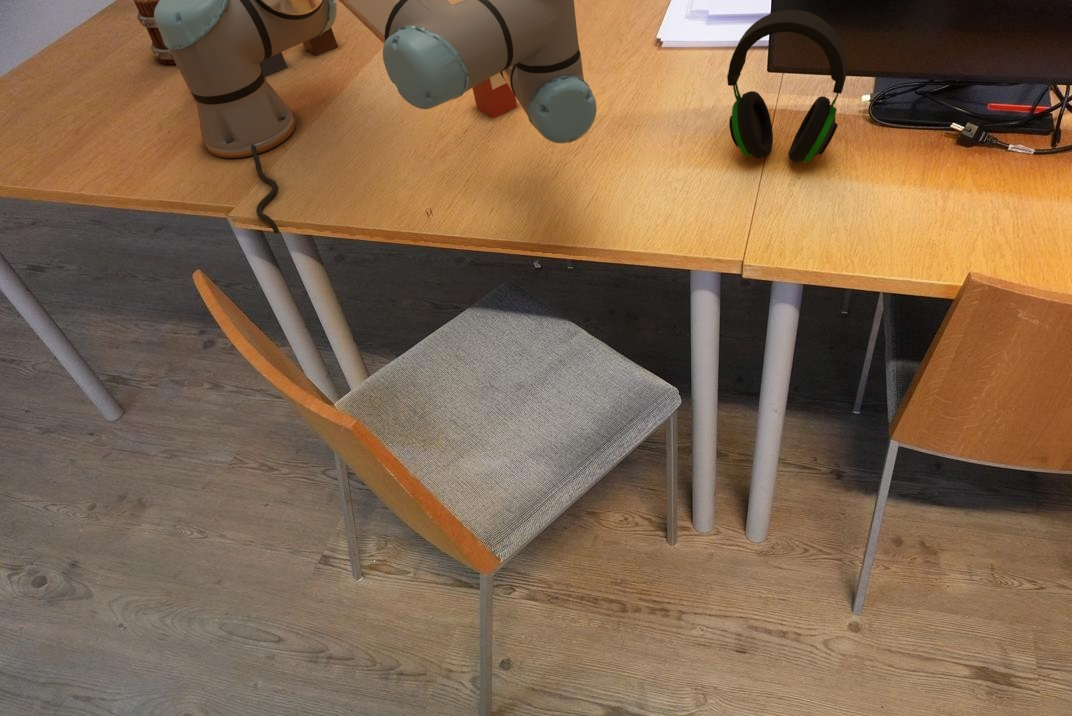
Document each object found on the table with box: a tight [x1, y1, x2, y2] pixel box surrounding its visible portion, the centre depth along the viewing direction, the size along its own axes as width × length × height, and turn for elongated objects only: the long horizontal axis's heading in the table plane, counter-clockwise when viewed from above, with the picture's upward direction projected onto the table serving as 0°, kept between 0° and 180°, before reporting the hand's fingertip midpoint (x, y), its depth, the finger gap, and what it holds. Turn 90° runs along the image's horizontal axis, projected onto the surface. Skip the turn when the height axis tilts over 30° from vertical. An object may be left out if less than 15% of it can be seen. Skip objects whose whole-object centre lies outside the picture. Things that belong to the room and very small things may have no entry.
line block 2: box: [302, 27, 339, 57], centre depth 150 cm, size 5×5×10 cm
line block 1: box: [259, 52, 288, 78], centre depth 146 cm, size 5×5×10 cm
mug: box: [133, 0, 176, 65], centre depth 155 cm, size 12×14×15 cm
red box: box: [472, 73, 518, 119], centre depth 127 cm, size 5×5×10 cm
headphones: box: [726, 9, 848, 163], centre depth 106 cm, size 9×16×20 cm, turn 71°
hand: (487, 4), depth 110 cm, fingers open, 13 cm apart
